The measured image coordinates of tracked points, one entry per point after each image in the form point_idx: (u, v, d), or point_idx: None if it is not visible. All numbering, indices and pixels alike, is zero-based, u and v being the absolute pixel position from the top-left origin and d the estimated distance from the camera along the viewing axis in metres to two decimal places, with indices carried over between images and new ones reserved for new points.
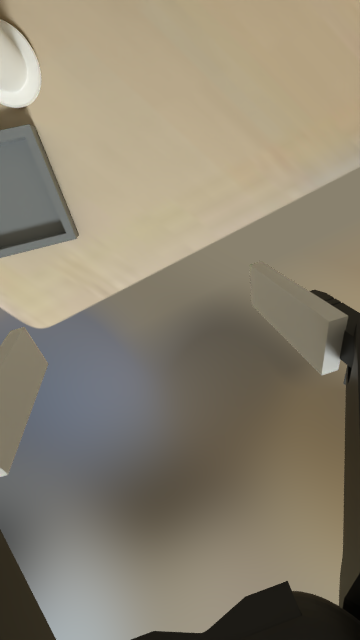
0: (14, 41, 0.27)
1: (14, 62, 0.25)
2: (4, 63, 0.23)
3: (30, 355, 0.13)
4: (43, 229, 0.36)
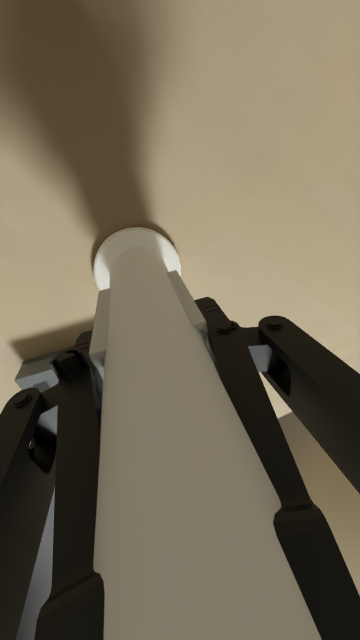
0: (158, 250, 0.20)
1: None
2: None
3: None
4: None
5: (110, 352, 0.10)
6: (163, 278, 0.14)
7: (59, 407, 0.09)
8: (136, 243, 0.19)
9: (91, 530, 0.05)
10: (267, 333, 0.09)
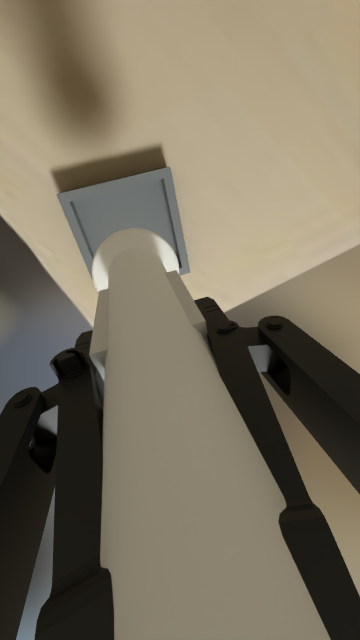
0: (156, 250, 0.20)
1: None
2: None
3: None
4: None
5: (111, 353, 0.10)
6: (162, 279, 0.14)
7: (59, 407, 0.09)
8: (134, 244, 0.19)
9: (91, 530, 0.05)
10: (267, 333, 0.09)
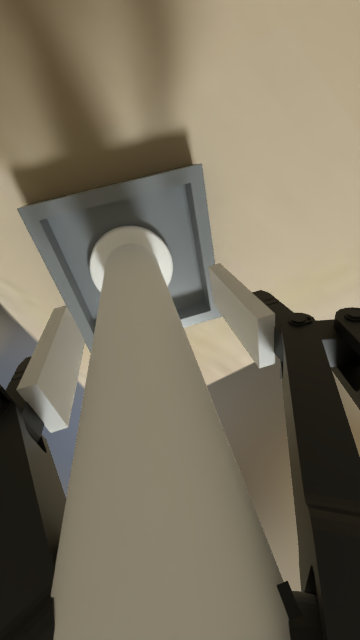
0: (150, 247, 0.21)
1: None
2: None
3: (72, 331, 0.15)
4: None
5: (96, 337, 0.11)
6: (151, 273, 0.15)
7: None
8: (129, 241, 0.21)
9: (29, 572, 0.05)
10: (344, 324, 0.09)
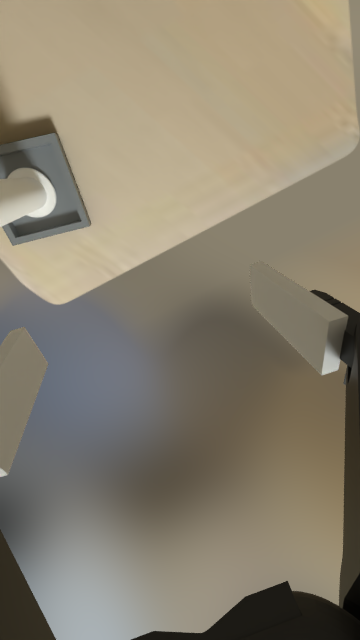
0: (39, 180, 0.39)
1: (40, 200, 0.38)
2: (35, 207, 0.36)
3: (30, 355, 0.13)
4: (62, 218, 0.43)
5: None
6: (21, 180, 0.34)
7: None
8: (26, 175, 0.39)
9: None
10: None
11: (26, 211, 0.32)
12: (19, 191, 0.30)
